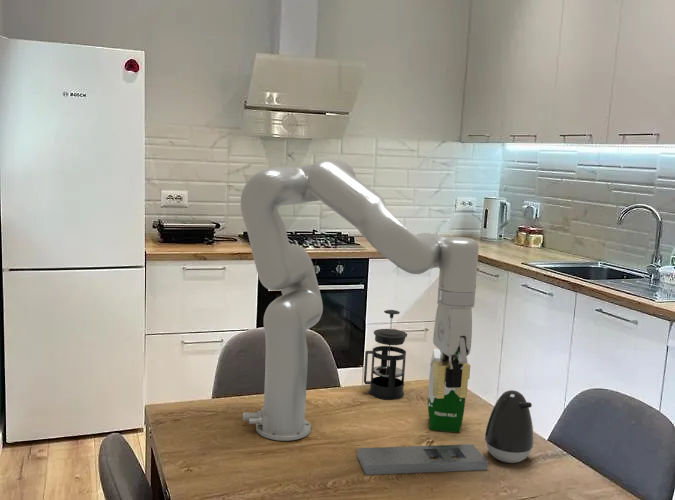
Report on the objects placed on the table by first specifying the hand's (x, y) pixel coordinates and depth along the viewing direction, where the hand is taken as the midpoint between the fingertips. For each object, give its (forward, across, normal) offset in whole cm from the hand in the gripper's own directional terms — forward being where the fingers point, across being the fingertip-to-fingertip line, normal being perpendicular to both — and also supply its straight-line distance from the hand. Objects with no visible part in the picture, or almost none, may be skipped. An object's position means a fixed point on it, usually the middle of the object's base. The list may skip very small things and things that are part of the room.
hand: (450, 383), depth 141 cm
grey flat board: (+17, 0, -5) cm, 18 cm away
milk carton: (+18, -19, +7) cm, 27 cm away
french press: (+18, -41, -2) cm, 45 cm away
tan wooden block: (+3, 0, 0) cm, 3 cm away
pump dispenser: (+18, -1, +15) cm, 23 cm away
